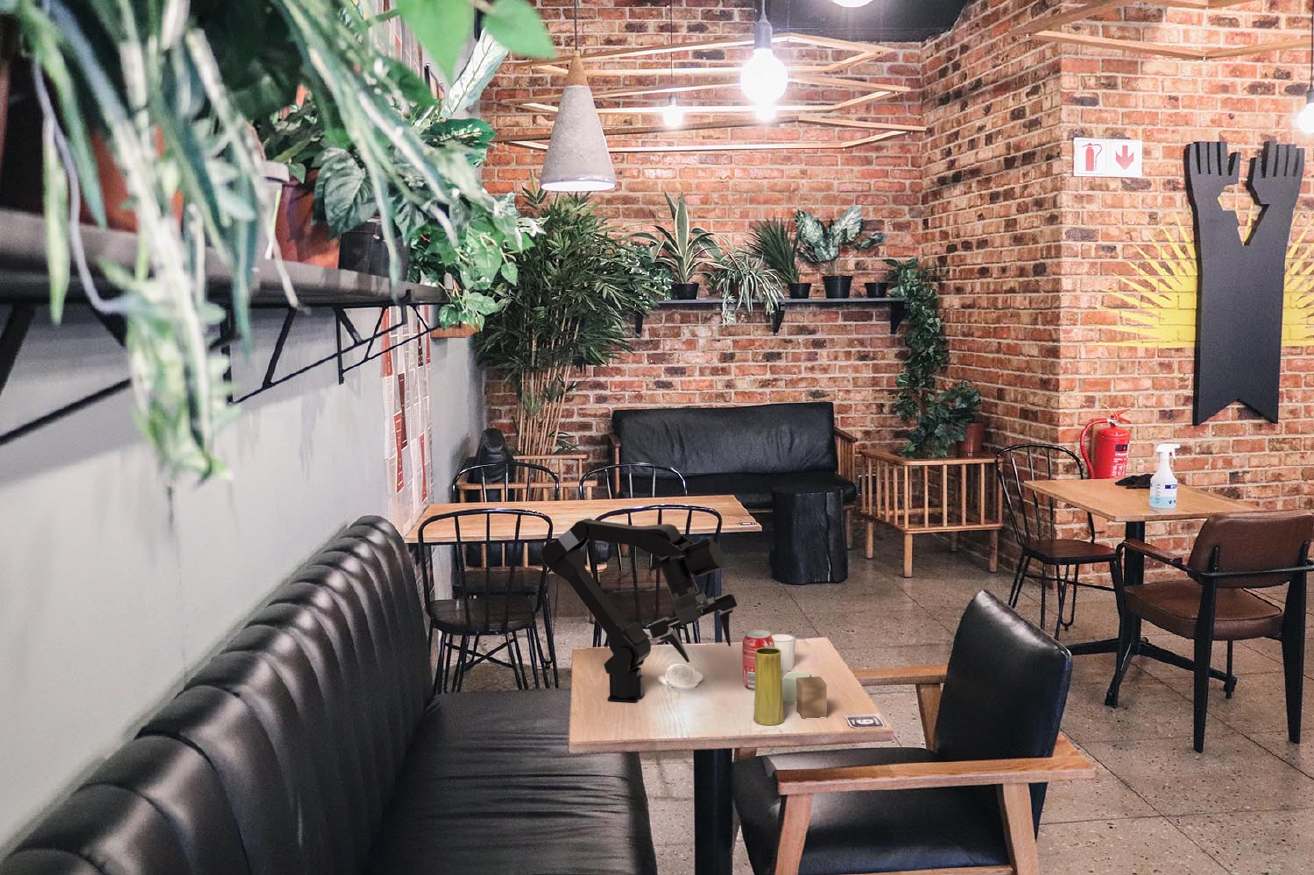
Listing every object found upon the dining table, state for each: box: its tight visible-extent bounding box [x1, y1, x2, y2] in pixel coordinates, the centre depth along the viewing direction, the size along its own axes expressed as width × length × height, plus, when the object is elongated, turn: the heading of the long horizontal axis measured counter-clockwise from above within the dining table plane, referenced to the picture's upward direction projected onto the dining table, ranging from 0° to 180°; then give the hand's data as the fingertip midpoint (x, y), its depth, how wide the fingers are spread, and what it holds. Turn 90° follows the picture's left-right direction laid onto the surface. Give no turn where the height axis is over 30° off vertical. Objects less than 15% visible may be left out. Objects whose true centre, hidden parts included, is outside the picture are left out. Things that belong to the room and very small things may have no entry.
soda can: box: [741, 629, 775, 691], centre depth 234 cm, size 7×7×12 cm
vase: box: [753, 647, 785, 726], centre depth 214 cm, size 6×6×14 cm
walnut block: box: [796, 676, 828, 720], centre depth 217 cm, size 5×5×7 cm
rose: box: [657, 662, 704, 690], centre depth 239 cm, size 10×4×10 cm
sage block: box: [782, 670, 813, 704], centre depth 227 cm, size 5×5×5 cm
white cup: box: [771, 633, 797, 672], centre depth 248 cm, size 7×7×7 cm
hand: (709, 654), depth 221 cm, fingers open, 9 cm apart
